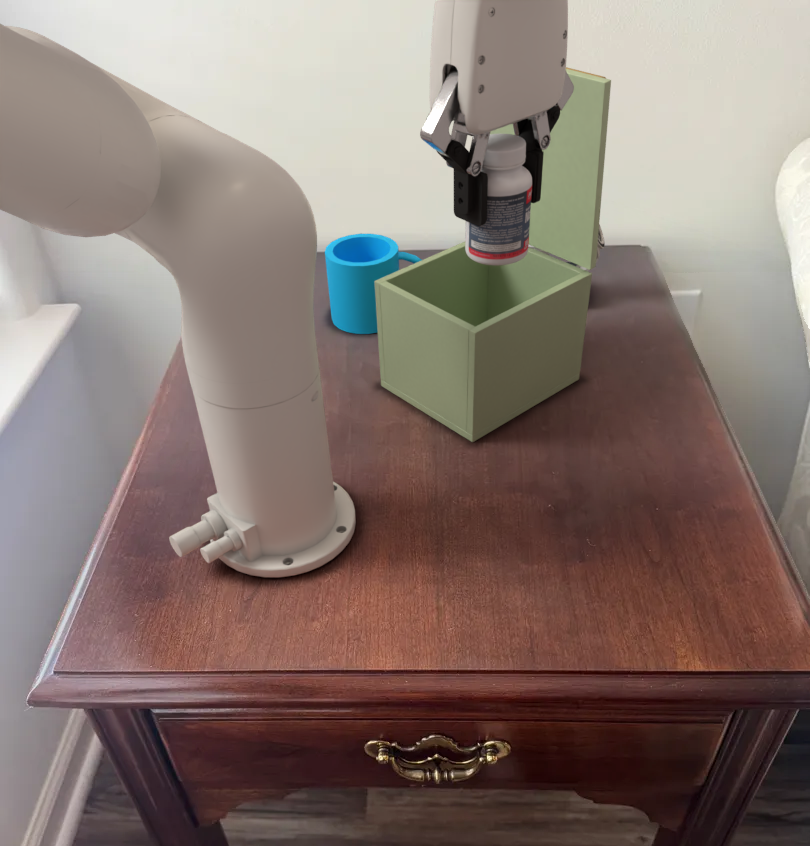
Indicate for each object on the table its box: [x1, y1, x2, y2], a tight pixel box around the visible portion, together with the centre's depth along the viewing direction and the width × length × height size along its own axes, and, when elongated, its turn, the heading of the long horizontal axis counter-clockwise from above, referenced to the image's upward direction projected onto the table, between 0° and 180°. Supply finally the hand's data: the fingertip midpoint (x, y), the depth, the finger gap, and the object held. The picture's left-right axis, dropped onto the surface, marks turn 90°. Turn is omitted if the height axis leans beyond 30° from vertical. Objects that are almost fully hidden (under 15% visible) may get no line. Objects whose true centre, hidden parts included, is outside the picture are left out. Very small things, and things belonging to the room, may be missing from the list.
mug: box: [324, 233, 423, 335], centre depth 97 cm, size 12×8×8 cm
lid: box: [490, 66, 612, 271], centre depth 79 cm, size 16×14×5 cm
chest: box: [375, 241, 593, 443], centre depth 85 cm, size 16×14×12 cm
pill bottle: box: [464, 134, 532, 265], centre depth 68 cm, size 5×5×9 cm
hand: (497, 206), depth 69 cm, fingers closed on pill bottle, 5 cm apart
